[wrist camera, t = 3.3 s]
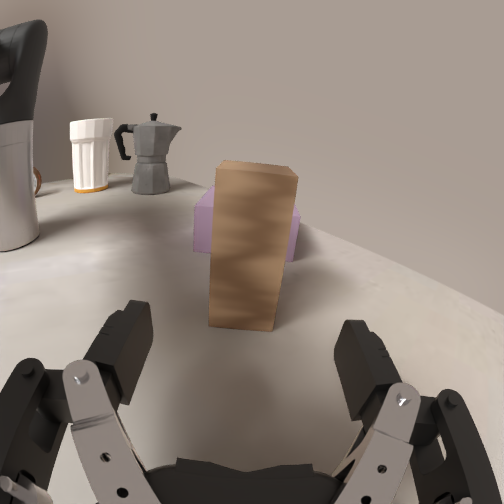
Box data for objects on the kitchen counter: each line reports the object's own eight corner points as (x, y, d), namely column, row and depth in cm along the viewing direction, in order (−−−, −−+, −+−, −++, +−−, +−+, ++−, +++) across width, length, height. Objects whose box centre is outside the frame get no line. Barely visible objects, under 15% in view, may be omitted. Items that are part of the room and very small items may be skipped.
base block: (193, 253, 33) (194, 205, 31) (210, 222, 44) (212, 185, 42) (292, 264, 33) (300, 216, 31) (284, 230, 44) (290, 193, 42)
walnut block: (208, 326, 21) (216, 168, 16) (215, 292, 26) (224, 160, 21) (272, 331, 21) (298, 176, 16) (268, 296, 26) (288, 166, 21)
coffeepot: (174, 185, 66) (179, 114, 59) (181, 193, 59) (187, 112, 51) (114, 188, 60) (116, 115, 52) (113, 197, 52) (114, 113, 45)
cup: (77, 185, 62) (77, 122, 55) (115, 183, 66) (117, 119, 58) (65, 195, 52) (64, 122, 45) (107, 192, 56) (108, 117, 49)
